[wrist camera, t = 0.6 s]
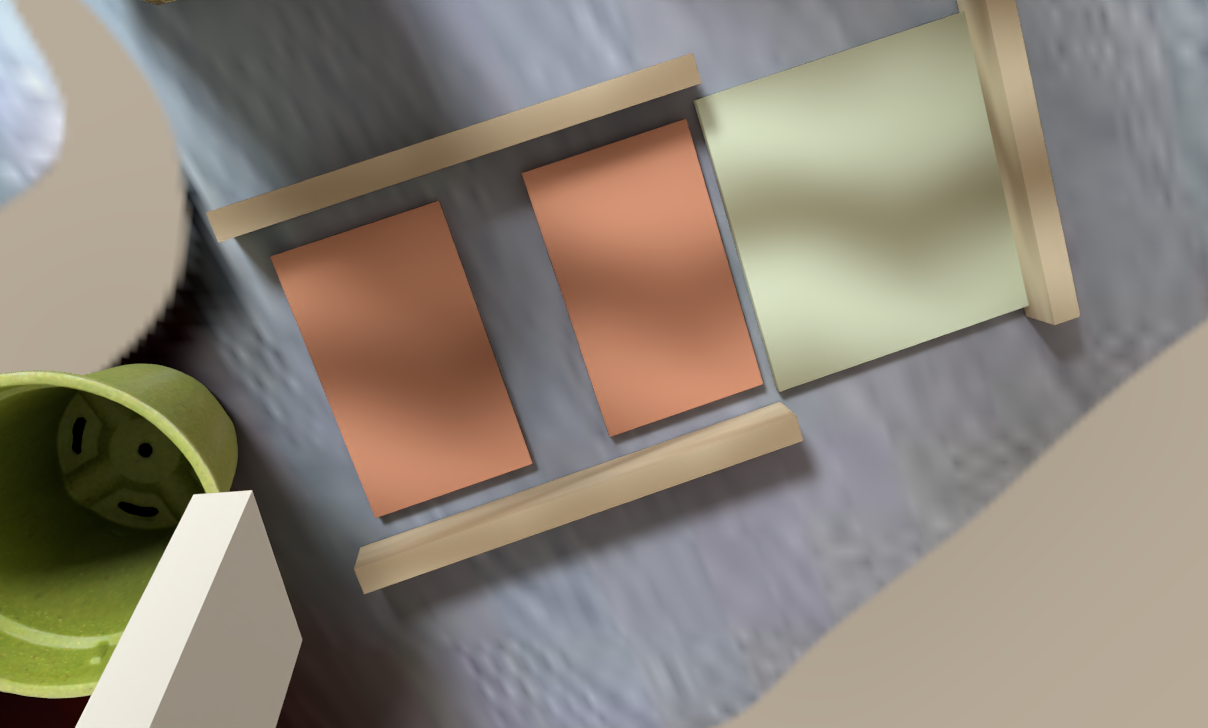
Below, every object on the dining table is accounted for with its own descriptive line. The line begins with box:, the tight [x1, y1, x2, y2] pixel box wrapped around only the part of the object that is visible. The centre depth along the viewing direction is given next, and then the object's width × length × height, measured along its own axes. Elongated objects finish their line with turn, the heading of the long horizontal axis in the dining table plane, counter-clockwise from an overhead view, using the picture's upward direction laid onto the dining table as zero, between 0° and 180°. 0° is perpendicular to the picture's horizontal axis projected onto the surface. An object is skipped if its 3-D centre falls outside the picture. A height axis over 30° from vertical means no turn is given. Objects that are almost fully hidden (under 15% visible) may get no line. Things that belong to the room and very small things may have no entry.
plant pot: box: [0, 364, 238, 698], centre depth 31 cm, size 9×9×9 cm
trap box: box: [206, 0, 1080, 594], centre depth 35 cm, size 14×28×2 cm, turn 108°
